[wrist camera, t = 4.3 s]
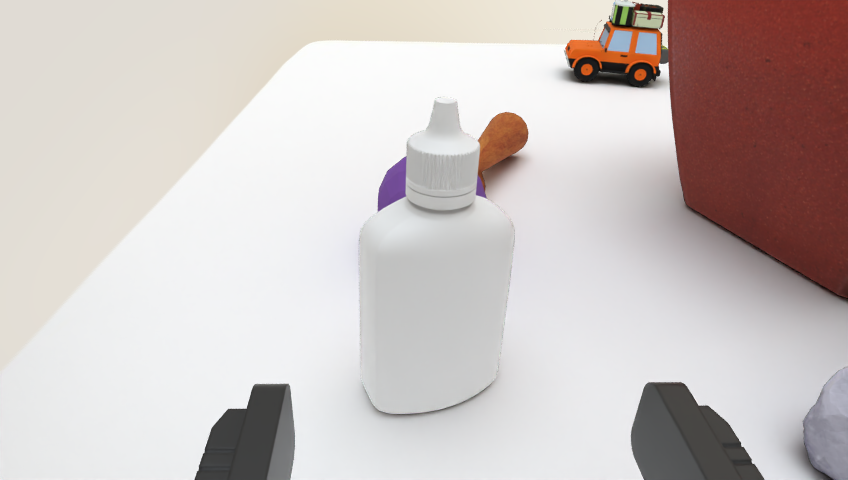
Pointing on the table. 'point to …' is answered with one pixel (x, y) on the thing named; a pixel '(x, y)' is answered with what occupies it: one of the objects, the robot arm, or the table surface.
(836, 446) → the stone block
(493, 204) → the eye dropper bottle
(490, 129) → the purple maraca
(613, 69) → the toy car
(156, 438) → the table surface
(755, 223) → the flower pot
